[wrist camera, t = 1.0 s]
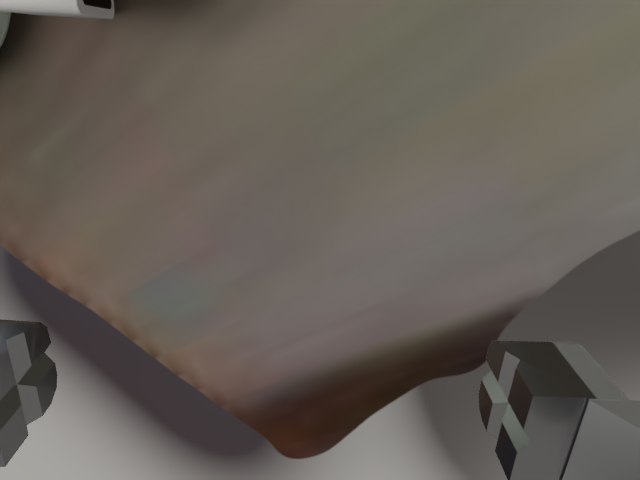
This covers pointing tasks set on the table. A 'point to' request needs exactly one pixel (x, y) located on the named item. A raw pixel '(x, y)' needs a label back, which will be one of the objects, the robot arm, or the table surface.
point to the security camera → (61, 8)
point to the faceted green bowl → (4, 25)
